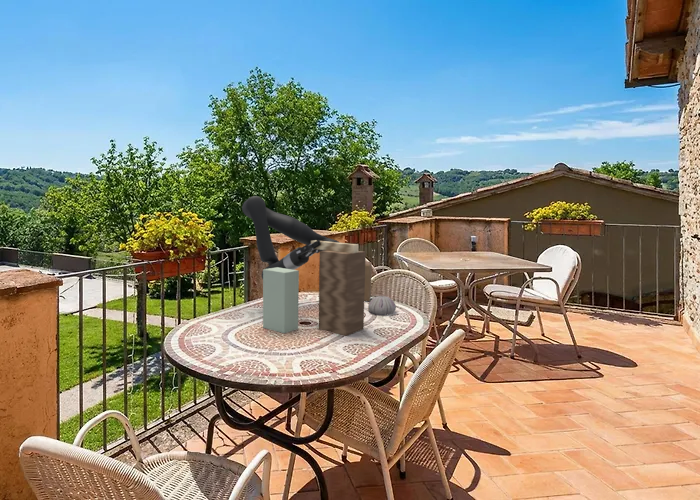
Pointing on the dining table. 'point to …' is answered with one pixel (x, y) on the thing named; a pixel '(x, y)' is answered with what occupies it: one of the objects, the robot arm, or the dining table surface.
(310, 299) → the dining table surface
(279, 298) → the sage pedestal
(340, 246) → the oak rod
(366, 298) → the wooden block
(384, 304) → the sea urchin shell
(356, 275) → the walnut pillar
